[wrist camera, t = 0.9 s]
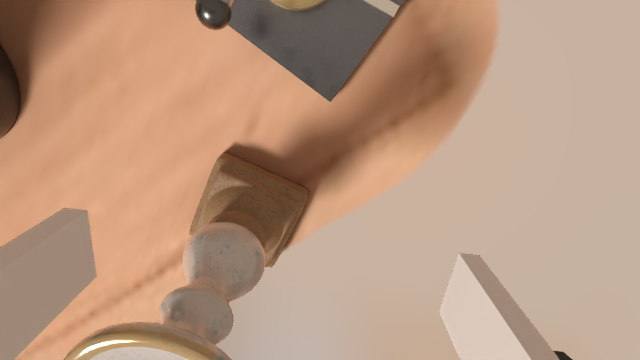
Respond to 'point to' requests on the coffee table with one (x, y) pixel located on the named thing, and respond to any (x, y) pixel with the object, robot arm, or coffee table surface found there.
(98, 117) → the coffee table surface
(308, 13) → the stand
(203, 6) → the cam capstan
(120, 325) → the candle holder
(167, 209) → the coffee table surface
